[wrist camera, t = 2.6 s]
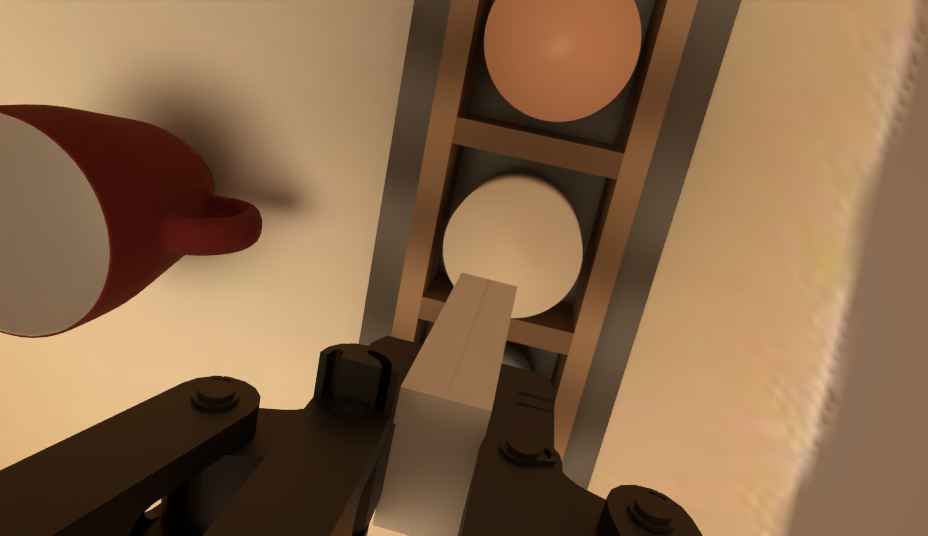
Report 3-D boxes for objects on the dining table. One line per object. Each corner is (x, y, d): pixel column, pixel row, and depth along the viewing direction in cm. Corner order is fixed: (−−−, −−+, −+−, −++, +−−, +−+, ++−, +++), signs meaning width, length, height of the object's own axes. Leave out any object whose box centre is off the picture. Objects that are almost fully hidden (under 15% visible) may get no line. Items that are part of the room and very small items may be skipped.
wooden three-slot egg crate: (435, -121, 25) (414, -160, 21) (758, -61, 24) (797, -90, 20) (347, 425, 33) (319, 469, 29) (586, 488, 32) (590, 543, 28)
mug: (299, 105, 28) (168, 113, 19) (306, 272, 30) (193, 355, 21) (91, 97, 29) (-129, 101, 20) (113, 258, 32) (-75, 329, 22)
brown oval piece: (509, -39, 23) (502, -58, 20) (646, -11, 22) (661, -27, 19) (480, 102, 24) (470, 104, 21) (609, 130, 24) (616, 136, 21)
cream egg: (469, 159, 25) (457, 168, 22) (593, 187, 25) (599, 200, 22) (445, 276, 27) (431, 300, 24) (562, 304, 26) (563, 332, 23)
